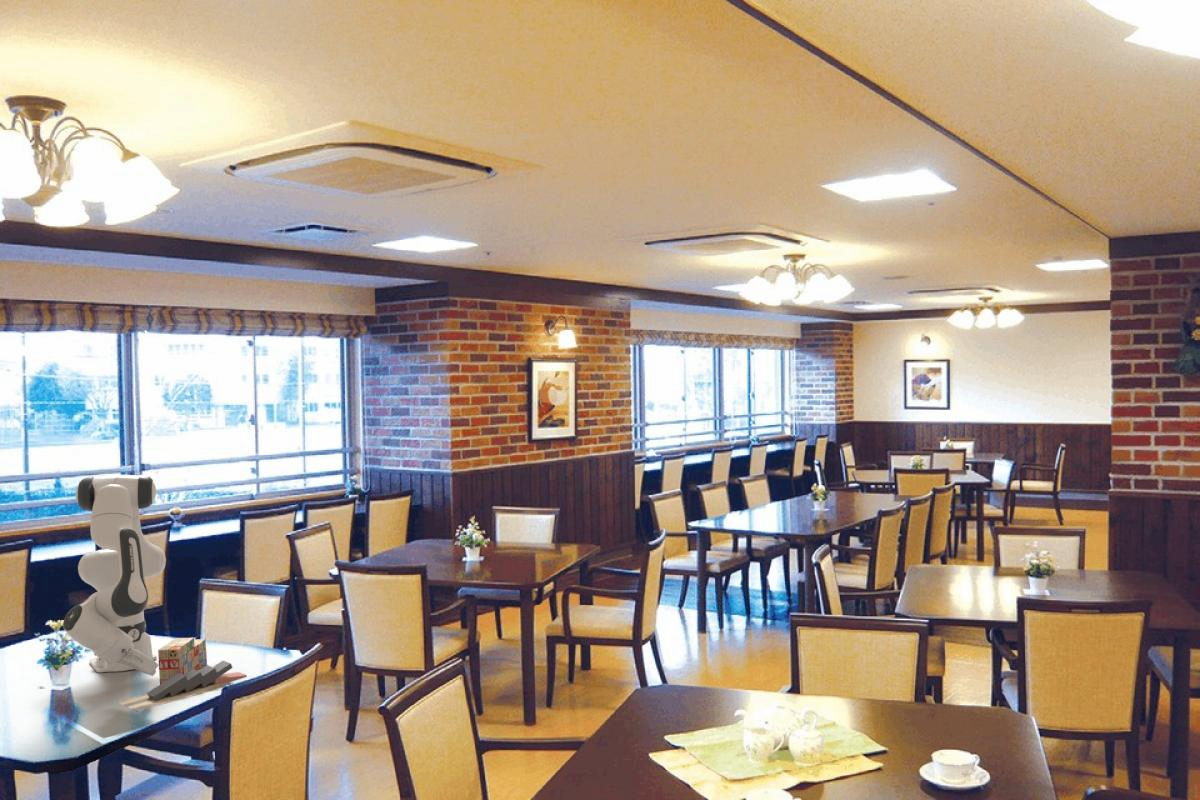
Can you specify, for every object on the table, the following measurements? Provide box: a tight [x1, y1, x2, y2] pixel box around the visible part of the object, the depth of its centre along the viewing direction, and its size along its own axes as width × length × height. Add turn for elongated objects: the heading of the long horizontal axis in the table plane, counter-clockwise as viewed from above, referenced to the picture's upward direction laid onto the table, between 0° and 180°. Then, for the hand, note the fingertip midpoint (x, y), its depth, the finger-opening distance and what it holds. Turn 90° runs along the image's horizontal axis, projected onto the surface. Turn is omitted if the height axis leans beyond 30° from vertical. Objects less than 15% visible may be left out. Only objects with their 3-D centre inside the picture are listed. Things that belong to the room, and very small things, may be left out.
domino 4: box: [199, 660, 234, 687], centre depth 292 cm, size 2×5×10 cm
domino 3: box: [182, 664, 217, 692], centre depth 288 cm, size 2×5×10 cm
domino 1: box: [146, 673, 188, 701], centre depth 281 cm, size 2×5×10 cm
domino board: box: [117, 683, 224, 712], centre depth 282 cm, size 13×26×1 cm, turn 139°
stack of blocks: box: [157, 637, 208, 685], centre depth 302 cm, size 21×6×12 cm, turn 1°
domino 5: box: [211, 671, 247, 685], centre depth 295 cm, size 2×5×10 cm
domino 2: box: [167, 669, 202, 697], centre depth 285 cm, size 2×5×10 cm
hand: (152, 672), depth 278 cm, fingers closed
